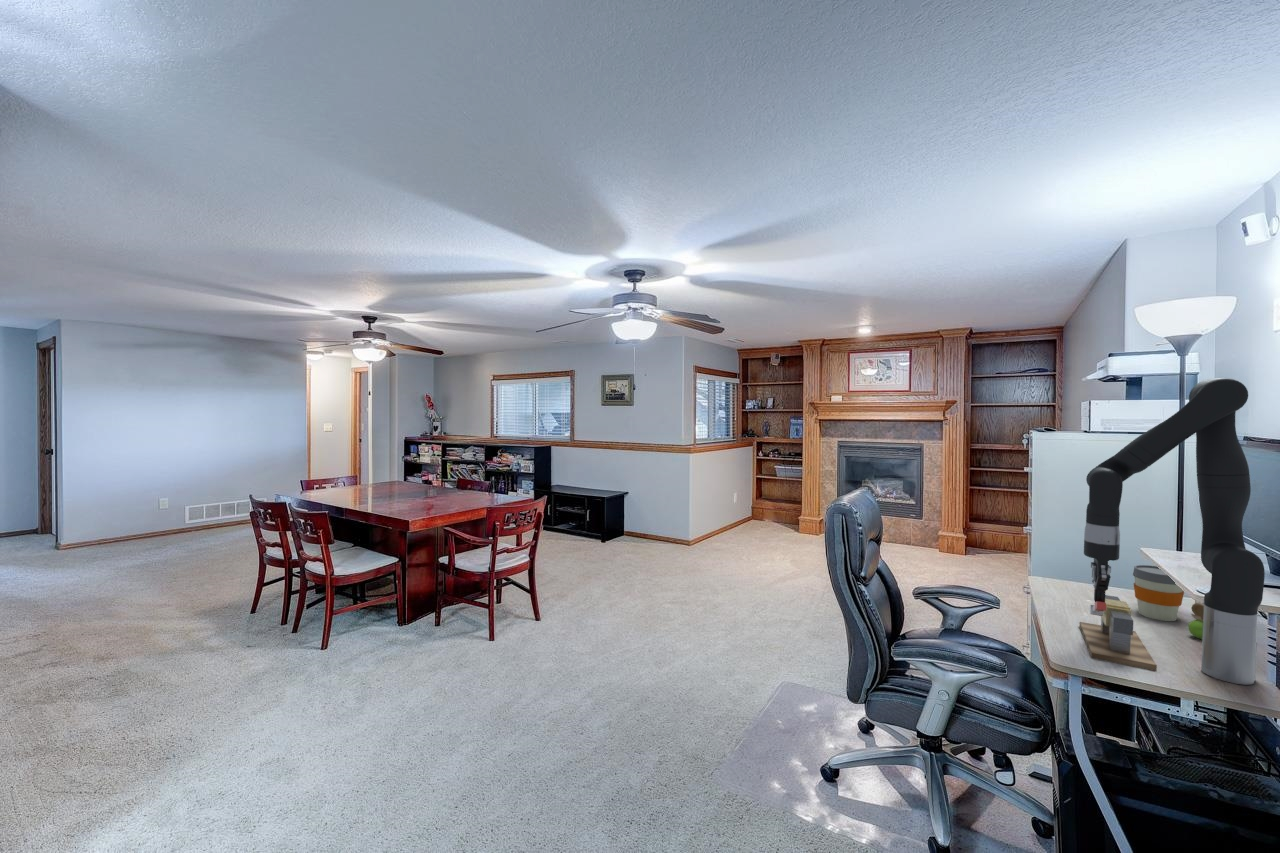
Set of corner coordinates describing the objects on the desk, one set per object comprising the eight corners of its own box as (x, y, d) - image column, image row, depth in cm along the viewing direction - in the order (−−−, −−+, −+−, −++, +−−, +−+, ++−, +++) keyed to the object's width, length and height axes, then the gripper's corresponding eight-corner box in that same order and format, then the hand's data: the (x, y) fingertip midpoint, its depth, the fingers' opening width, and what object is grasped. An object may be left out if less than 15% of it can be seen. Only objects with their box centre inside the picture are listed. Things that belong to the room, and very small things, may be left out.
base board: (1079, 626, 171) (1079, 621, 171) (1135, 636, 164) (1135, 631, 164) (1091, 658, 149) (1091, 652, 149) (1156, 670, 142) (1156, 665, 142)
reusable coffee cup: (1187, 626, 172) (1189, 578, 171) (1133, 616, 179) (1135, 571, 179) (1180, 614, 182) (1182, 569, 181) (1129, 606, 189) (1131, 562, 189)
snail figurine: (1210, 644, 158) (1212, 603, 158) (1183, 635, 164) (1185, 596, 164) (1223, 642, 160) (1225, 601, 159) (1195, 633, 166) (1197, 594, 166)
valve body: (1096, 626, 167) (1098, 590, 167) (1119, 630, 164) (1120, 593, 164) (1109, 653, 149) (1110, 613, 148) (1135, 658, 146) (1136, 617, 145)
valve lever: (1089, 605, 160) (1096, 600, 150) (1101, 607, 159) (1109, 602, 149) (1089, 614, 160) (1097, 609, 149) (1101, 616, 158) (1109, 611, 148)
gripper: (1124, 547, 144) (1121, 612, 145) (1115, 537, 155) (1112, 598, 156) (1087, 543, 148) (1085, 607, 149) (1081, 534, 159) (1079, 593, 160)
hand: (1099, 602), depth 152 cm, fingers closed
